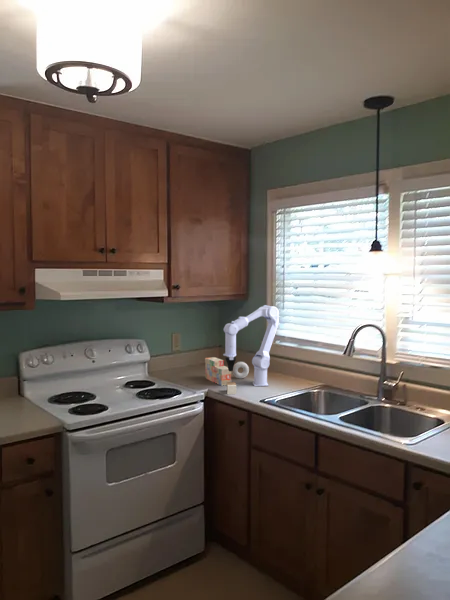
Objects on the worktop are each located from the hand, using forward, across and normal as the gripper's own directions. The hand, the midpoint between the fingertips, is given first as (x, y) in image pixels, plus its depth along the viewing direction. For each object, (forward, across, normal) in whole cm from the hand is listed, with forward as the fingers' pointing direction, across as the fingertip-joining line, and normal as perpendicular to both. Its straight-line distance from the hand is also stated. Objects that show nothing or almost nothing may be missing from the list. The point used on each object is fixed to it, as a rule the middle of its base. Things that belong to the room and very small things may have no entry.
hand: (230, 370), depth 274 cm
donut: (+10, -22, +7) cm, 25 cm away
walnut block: (+7, +5, 0) cm, 9 cm away
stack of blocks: (+10, -15, -6) cm, 19 cm away
